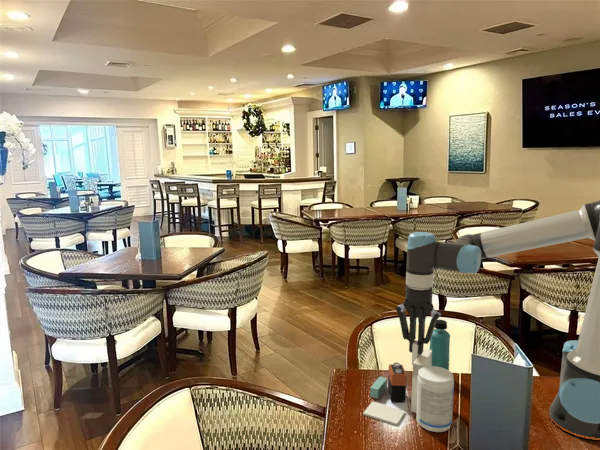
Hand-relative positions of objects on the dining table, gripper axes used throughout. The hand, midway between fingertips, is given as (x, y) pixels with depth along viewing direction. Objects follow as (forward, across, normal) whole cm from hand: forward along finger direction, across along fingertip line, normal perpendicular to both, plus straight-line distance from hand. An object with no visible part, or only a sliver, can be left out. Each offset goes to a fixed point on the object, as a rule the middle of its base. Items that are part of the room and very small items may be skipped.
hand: (415, 363), depth 132 cm
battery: (+13, +5, 0) cm, 14 cm away
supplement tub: (+13, -8, +8) cm, 17 cm away
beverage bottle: (+13, -3, -18) cm, 22 cm away
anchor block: (+12, +11, 0) cm, 17 cm away
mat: (+12, +5, +10) cm, 17 cm away
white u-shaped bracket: (+12, -2, 0) cm, 13 cm away
